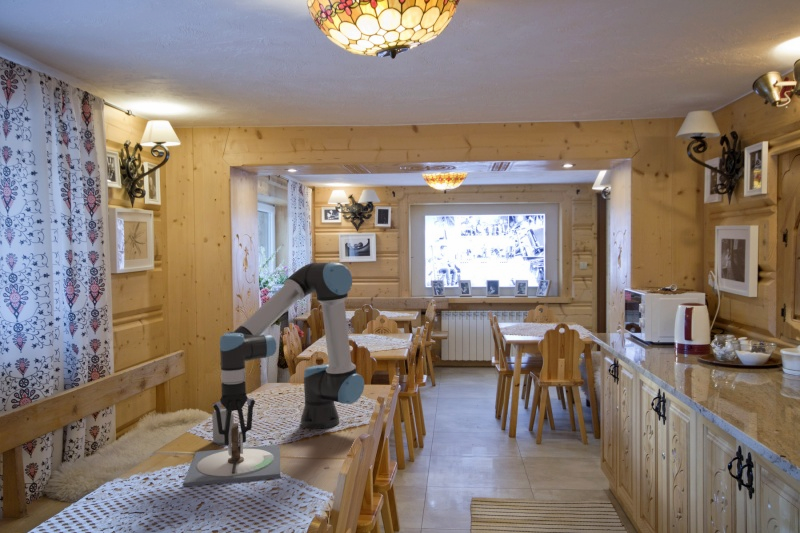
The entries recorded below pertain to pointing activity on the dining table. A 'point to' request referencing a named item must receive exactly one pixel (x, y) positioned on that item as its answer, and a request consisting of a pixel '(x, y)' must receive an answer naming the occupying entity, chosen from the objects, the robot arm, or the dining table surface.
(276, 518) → the dining table surface
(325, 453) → the dining table surface
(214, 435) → the can
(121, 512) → the dining table surface
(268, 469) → the dial board
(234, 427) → the dial pointer knob
